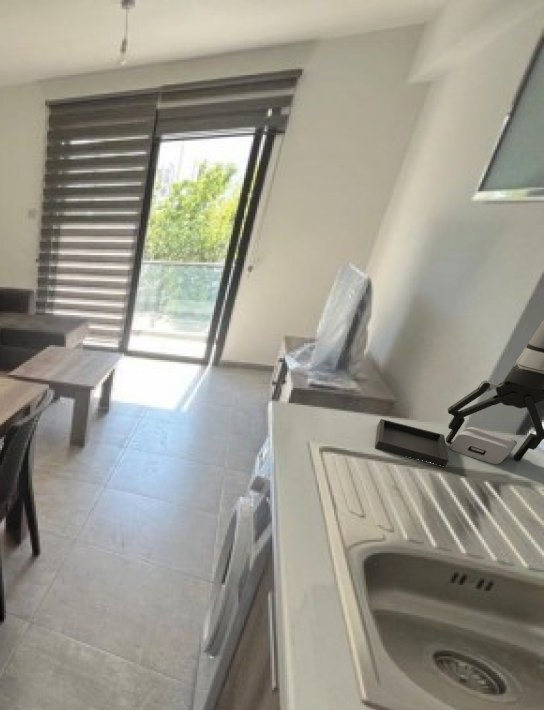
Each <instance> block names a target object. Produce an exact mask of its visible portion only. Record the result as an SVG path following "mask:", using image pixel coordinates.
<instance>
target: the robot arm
mask: <svg viewBox="0 0 544 710" xmlns="http://www.w3.org/2000/svg"><path fill="white" fill-rule="evenodd" d="M515 363H516V364H515V365H513V366H512V367H511V368H510V370H509V372H508V373H507V374H506V376H505V378H504V379H503V381H501V382H500V383H499V384H498V383H497V384H496V383H493V382H489V381H488V380H482V381H481V383H480V384H479V385H478V387H477V388H476V389H474V390H472V391H471V392H470V393H468V394H467V395H465V396H464V397H462V398H460V399H459V400H458V401H457V402H455V403H453V404H452V405H450V406H449V407H448V408H447V413H448V414H449V415H451V416H453V417H452V418H451V420H450V422H449V423H448V426H447V427H448V430H450V432H449V433H448V434H447V436H446V437H445V442H446V443H448V444H452V442H453V441H454V439H455V438H456V436H457V435H458V434H457V433H458V432H459V430H460V429H461V428H462V426H463V424H464V423H465V417H467V416H472V415H473V414H475V413H478V412H480V411H483V410H486V409H487V408H490V407H492V406H496V405H499V404H502V405H504V406H509V407H514V408H517V409H526V410H527V412H528V415H529V418H530V421H531V424H532V425H533V428H534V432H535V433H529V435H528V436H527V437H526V438H525V440H524V441H523V443H522V444H521V445H520V447H519V448H518V449H517V451H516V452H515V453H514V455H513V458H514V460H515V461H517V462H521V460H522V459H523V457H525V454H526V453H527V452H528V451H529V450H533V451H534V450H536V449H537V448H538V446H539V445H540V444H541V443H542V441H543V440H544V426H543V423H542V421H541V418H540V415H539V412H538V409H537V406H536V404H539V403H541V402H544V319H543V320H542V321H541V323H540V324H539V326H538V327H537V329H536V330H535V332H534V334H533V335H532V337H531V339H530V340H529V341H528V344H527V345H526V347H524V349H523V351H522V352H521V354H519V357H518V358H517V360H516V361H515ZM492 390H495V392H496V394H495V395H492V396H490V397H489V398H486V399H484V400H481V401H480V402H478V403H475V404H473V405H470V406H468V405H469V404H471V403H472V402H473V401H475V400H477V399H478V398H479V397H481V396H482V395H483V394H484V393H486V392H487V393H488V392H490V391H492ZM466 406H467V407H466Z"/></svg>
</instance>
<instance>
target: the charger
mask: <svg viewBox="0 0 544 710" xmlns="http://www.w3.org/2000/svg"><path fill="white" fill-rule="evenodd" d="M450 444H451V445H450V446H449V448H450V449H451V450H452V451H454V452H456V453H458V454H461V455H464V456H467V457H470V458H474V459H477V460H479V461H483V462H486V463H489V464H493V465H498V464H501V463H502V461H504V460H505V459H506V458H507V457H508V456H509V455H510V454H511V453H512V451H513V450H514V448H515V447H516V446H517V445H518V442H517V440H515V439H513V438H512V437H509V436H504V435H503V434H502V435H501V434H498V433H495V432H492V431H489V430H485V429H481V428H479V427H472V426H471V427H467V428H465V429H464V430H463V431H461V432H460V433H458V434H456V436H455V437H454V439H453V440H452V442H451V443H450Z"/></svg>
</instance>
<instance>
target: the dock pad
mask: <svg viewBox="0 0 544 710" xmlns="http://www.w3.org/2000/svg"><path fill="white" fill-rule="evenodd" d="M375 433H376V435H375V443H374V449H377V450H380V451H384V452H387V453H390V454H394V455H398V456H401V455H402V456H401V457H405V456H407V457H406V458H408V457H411V458H410V459H412V458H414V459H413V460H415V459H419V460H423V461H427V462H431V463H434V464H437V465H441V466H444V467H443V468H445V467H446V466H447V464H448V462H449V461H450V459H449V454H448V449H447V448H448V447H447V442H446V437H445V434H442V433H439V432H436V431H431V430H427V429H423V428H419V427H415V426H411V425H407V424H403V423H400V422H395V421H392V420H387V419H384V418H380V419H379V422H377V426H376V432H375ZM419 460H418V461H419ZM437 465H436V466H437Z"/></svg>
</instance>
